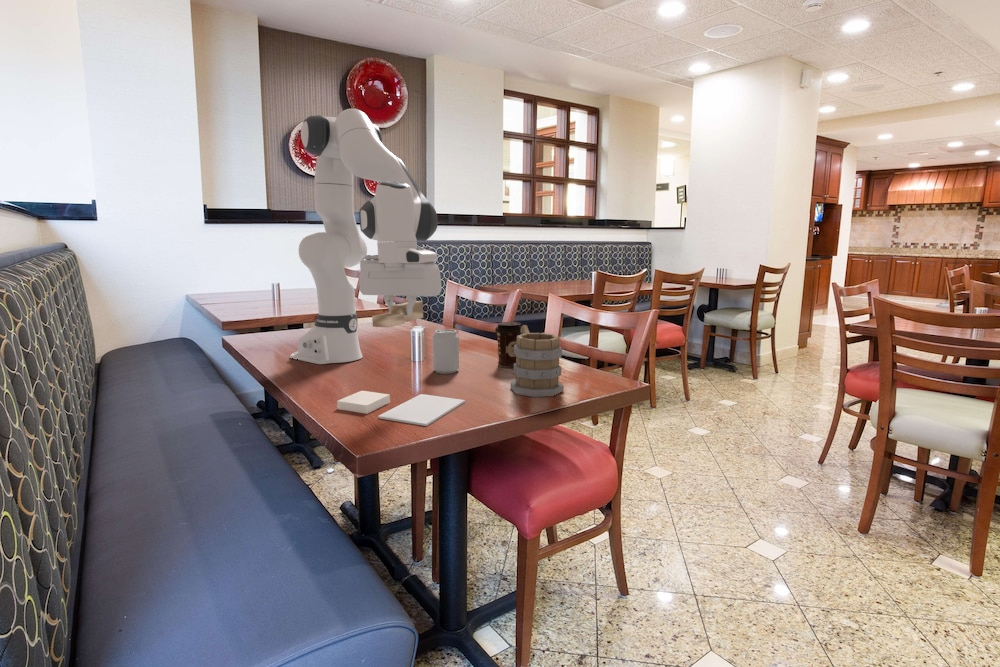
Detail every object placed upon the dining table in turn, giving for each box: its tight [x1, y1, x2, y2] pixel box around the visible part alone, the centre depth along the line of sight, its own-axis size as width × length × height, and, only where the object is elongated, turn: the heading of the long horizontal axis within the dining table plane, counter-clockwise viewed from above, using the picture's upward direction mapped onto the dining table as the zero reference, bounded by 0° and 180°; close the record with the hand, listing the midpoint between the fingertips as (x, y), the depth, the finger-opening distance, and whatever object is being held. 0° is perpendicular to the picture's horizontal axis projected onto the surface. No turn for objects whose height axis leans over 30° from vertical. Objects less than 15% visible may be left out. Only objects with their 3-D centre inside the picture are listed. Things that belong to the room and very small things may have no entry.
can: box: [432, 328, 460, 375], centre depth 158 cm, size 8×8×12 cm
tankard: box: [510, 324, 565, 398], centre depth 143 cm, size 20×13×15 cm, turn 12°
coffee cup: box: [494, 321, 523, 368], centre depth 165 cm, size 9×8×13 cm
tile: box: [336, 390, 391, 415], centre depth 127 cm, size 8×2×9 cm
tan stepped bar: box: [371, 300, 424, 328], centre depth 127 cm, size 4×16×4 cm, turn 157°
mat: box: [377, 393, 466, 427], centre depth 124 cm, size 12×18×1 cm, turn 157°
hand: (400, 315), depth 127 cm, fingers closed on tan stepped bar, 2 cm apart
